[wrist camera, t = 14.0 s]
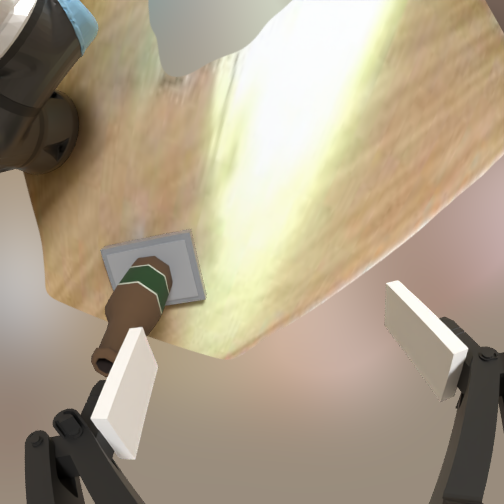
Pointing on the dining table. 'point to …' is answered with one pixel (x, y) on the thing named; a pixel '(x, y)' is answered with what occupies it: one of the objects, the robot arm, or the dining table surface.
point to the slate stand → (170, 252)
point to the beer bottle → (133, 307)
